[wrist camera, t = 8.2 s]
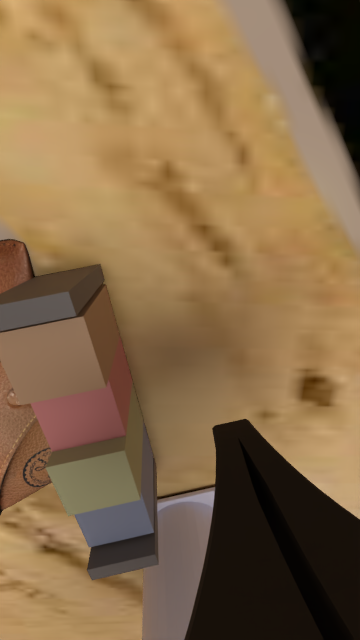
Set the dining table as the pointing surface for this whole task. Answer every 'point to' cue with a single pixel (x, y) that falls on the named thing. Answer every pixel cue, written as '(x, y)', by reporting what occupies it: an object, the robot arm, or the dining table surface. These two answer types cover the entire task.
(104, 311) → the book row
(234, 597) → the robot arm
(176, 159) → the dining table surface
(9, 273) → the sunglasses case
